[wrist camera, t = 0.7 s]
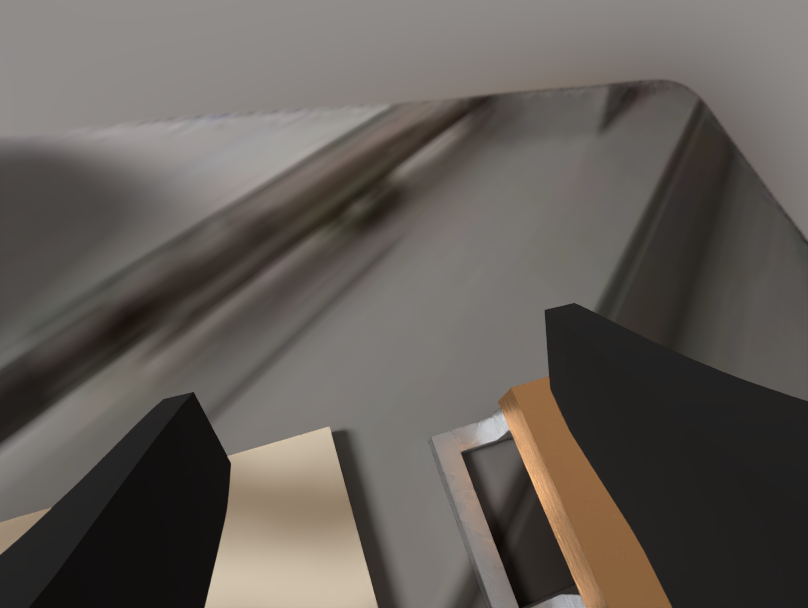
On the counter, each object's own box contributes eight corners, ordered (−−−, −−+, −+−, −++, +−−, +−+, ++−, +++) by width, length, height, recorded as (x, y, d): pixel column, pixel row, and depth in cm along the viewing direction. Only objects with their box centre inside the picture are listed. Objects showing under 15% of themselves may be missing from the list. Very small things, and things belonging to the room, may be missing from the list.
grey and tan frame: (641, 585, 25) (731, 586, 20) (501, 649, 23) (557, 671, 18) (553, 401, 30) (607, 358, 24) (428, 441, 27) (454, 404, 22)
